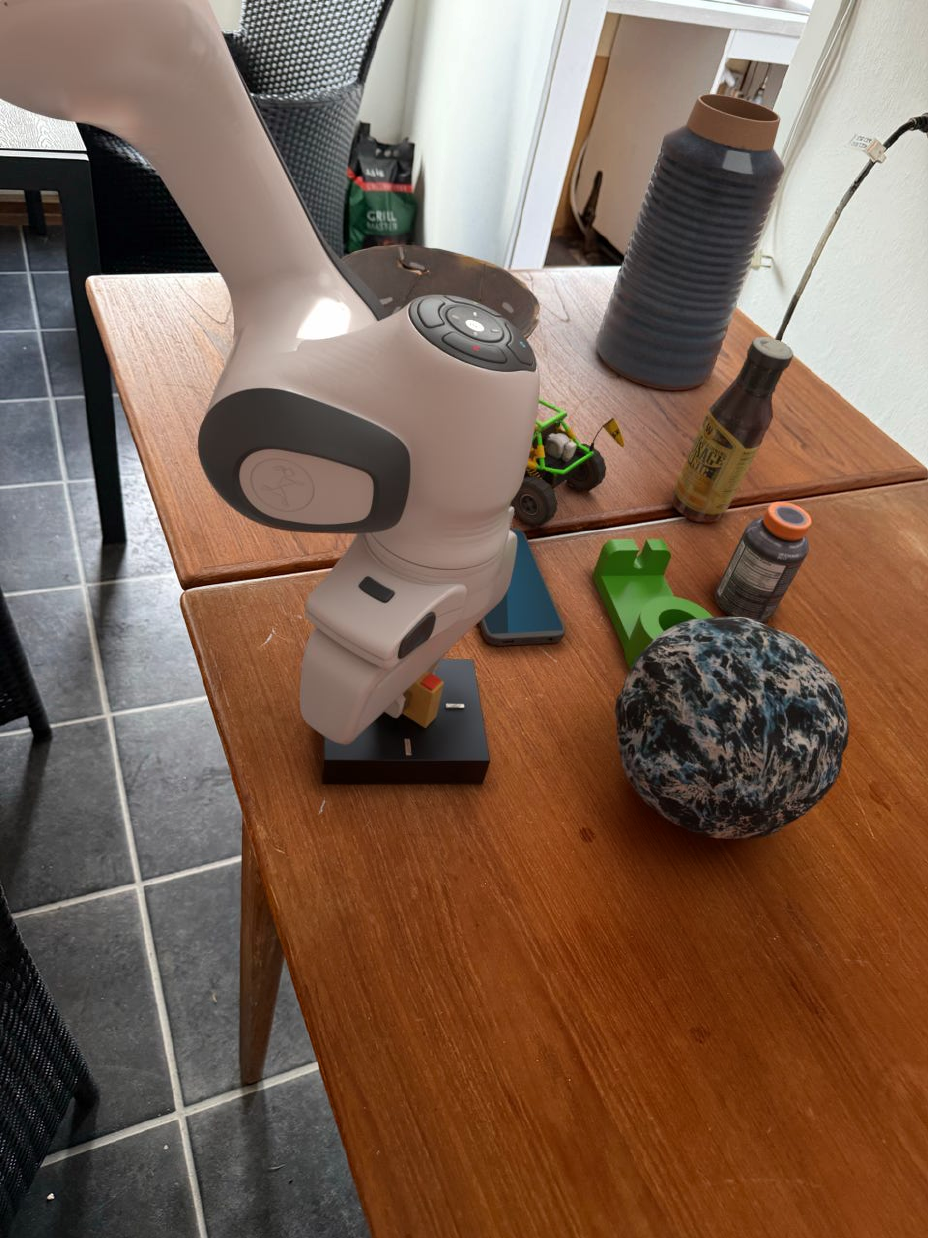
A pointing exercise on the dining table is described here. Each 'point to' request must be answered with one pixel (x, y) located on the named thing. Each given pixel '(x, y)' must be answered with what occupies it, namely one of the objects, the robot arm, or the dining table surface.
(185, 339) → the dining table surface
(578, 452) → the motor vehicle
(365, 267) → the bowl
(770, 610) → the pill bottle
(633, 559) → the tape dispenser
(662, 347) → the vase
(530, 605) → the smartphone
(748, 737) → the decorative stone
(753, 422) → the sauce bottle
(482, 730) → the plate
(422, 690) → the thumb turn
